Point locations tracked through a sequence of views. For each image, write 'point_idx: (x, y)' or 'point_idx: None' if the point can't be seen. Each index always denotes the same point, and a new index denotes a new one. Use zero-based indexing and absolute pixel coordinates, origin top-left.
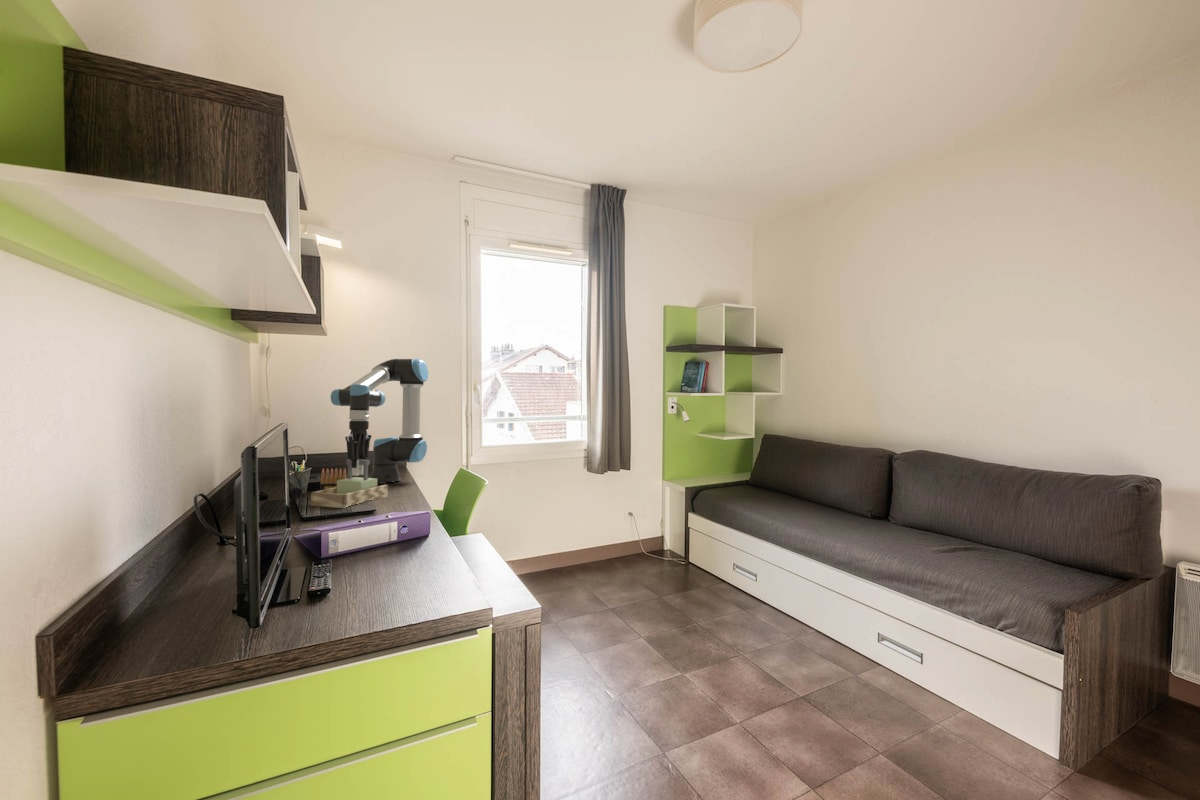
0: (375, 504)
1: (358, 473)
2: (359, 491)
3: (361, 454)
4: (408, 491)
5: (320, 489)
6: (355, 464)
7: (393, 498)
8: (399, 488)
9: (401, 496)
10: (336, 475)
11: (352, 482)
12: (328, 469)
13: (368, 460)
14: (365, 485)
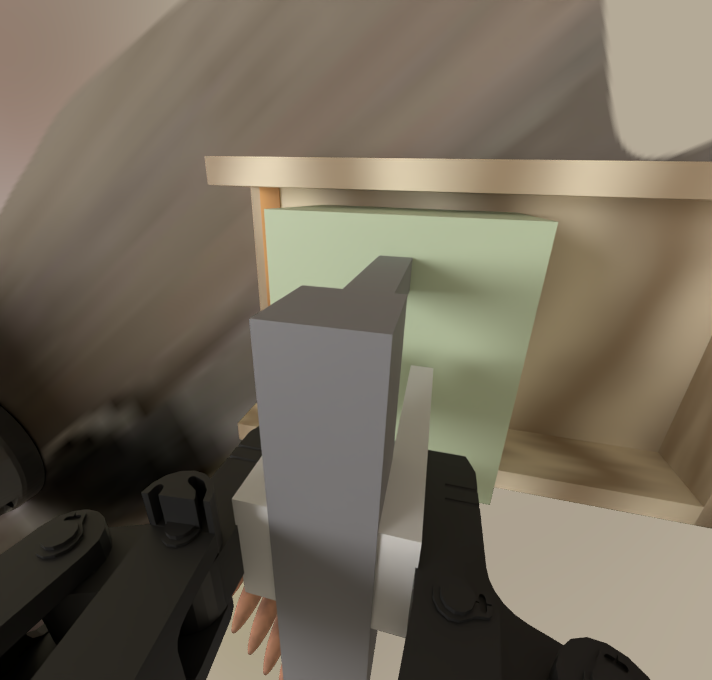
0: (584, 11)
1: (413, 378)
2: (643, 164)
3: (166, 678)
4: (63, 151)
5: None
6: (453, 498)
7: (298, 61)
8: (40, 276)
9: (210, 57)
10: None
11: (526, 342)
12: (281, 676)
13: (301, 321)
14: (469, 215)
